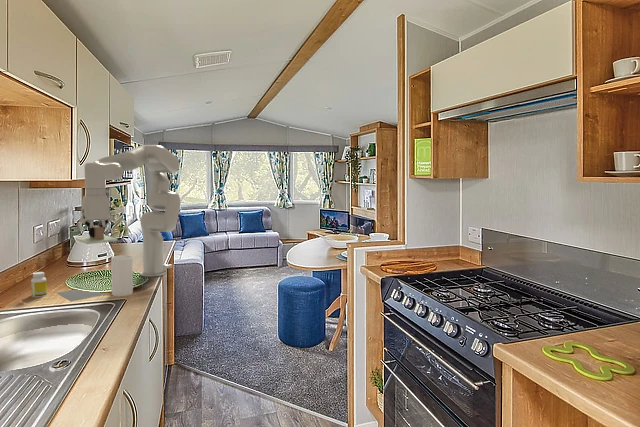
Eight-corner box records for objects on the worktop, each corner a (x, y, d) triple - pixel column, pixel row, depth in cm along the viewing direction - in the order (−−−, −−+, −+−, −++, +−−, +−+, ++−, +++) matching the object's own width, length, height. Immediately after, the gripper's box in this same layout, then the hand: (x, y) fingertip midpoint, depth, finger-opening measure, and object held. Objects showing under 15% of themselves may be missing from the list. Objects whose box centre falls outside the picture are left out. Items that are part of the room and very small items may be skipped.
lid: (105, 236, 193) (105, 223, 193) (117, 240, 185) (117, 227, 185) (76, 240, 185) (75, 226, 184) (87, 244, 177) (86, 229, 176)
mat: (95, 286, 198) (95, 285, 198) (111, 294, 188) (111, 293, 188) (56, 293, 186) (56, 292, 186) (71, 302, 176) (71, 301, 176)
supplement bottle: (50, 295, 184) (49, 272, 183) (38, 298, 179) (37, 275, 178) (39, 293, 185) (39, 270, 184) (28, 297, 180) (27, 273, 179)
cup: (125, 297, 184) (124, 259, 182) (107, 295, 185) (106, 258, 184) (136, 292, 192) (136, 256, 190) (120, 290, 193) (119, 254, 192)
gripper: (111, 191, 191) (112, 233, 193) (70, 192, 179) (72, 237, 181) (119, 192, 186) (120, 235, 188) (77, 194, 174) (79, 239, 176)
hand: (96, 236), depth 185 cm, fingers closed on lid, 3 cm apart
